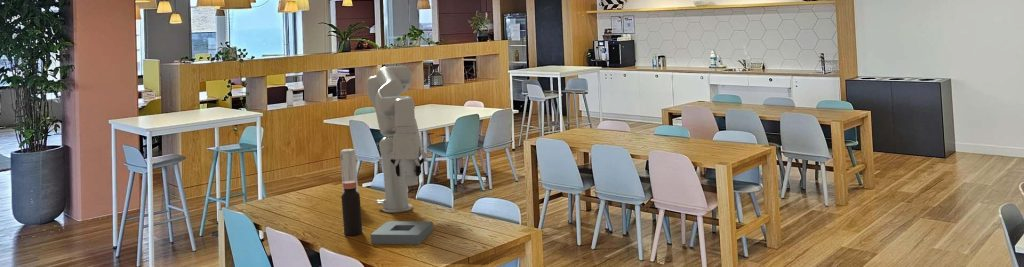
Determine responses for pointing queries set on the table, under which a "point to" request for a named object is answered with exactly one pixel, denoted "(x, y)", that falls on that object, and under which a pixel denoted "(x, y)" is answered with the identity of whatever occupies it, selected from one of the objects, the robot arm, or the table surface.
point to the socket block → (402, 232)
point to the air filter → (348, 166)
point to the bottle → (351, 209)
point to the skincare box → (407, 172)
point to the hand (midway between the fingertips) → (408, 175)
